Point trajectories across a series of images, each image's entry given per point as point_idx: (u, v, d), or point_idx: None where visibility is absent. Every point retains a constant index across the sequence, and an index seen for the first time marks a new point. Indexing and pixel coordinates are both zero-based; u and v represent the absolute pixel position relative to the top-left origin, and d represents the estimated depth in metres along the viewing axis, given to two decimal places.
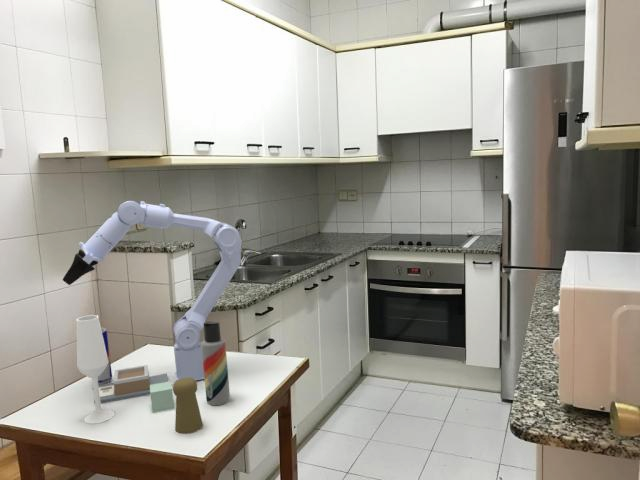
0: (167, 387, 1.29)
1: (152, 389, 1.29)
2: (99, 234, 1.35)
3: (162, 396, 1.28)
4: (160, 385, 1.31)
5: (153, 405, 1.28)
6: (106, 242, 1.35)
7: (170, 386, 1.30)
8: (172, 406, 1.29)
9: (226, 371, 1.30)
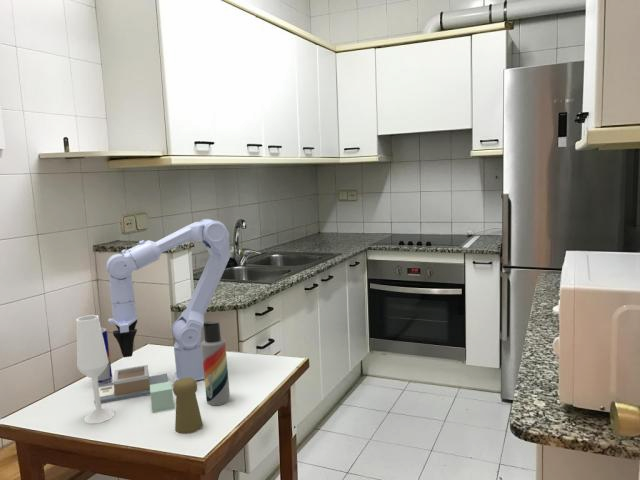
0: (167, 388, 1.29)
1: (152, 389, 1.29)
2: (114, 303, 1.36)
3: (162, 396, 1.28)
4: (160, 385, 1.31)
5: (153, 405, 1.28)
6: (125, 304, 1.36)
7: (170, 386, 1.30)
8: (172, 406, 1.29)
9: (226, 371, 1.30)
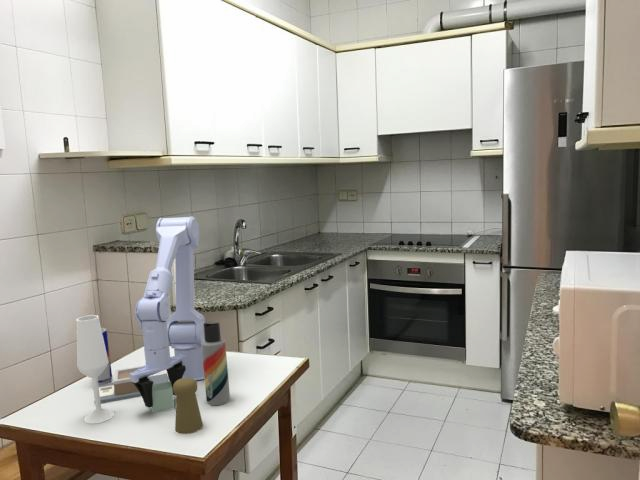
0: (167, 387, 1.29)
1: (152, 388, 1.29)
2: None
3: (162, 396, 1.28)
4: (160, 384, 1.31)
5: (153, 405, 1.28)
6: (148, 351, 1.26)
7: (170, 386, 1.30)
8: (172, 406, 1.29)
9: (226, 371, 1.30)
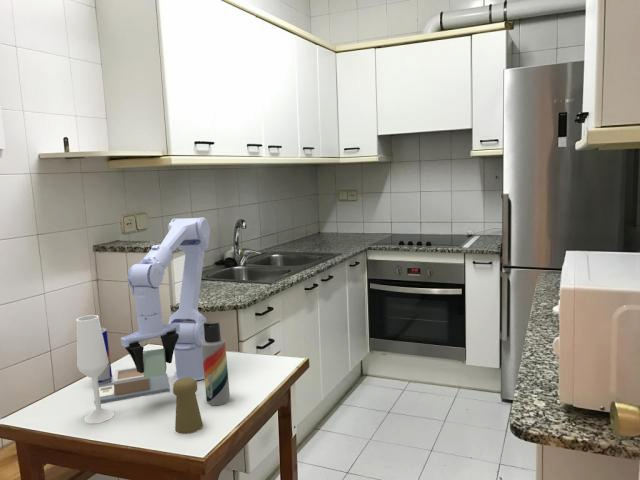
0: (159, 354, 1.30)
1: (144, 354, 1.30)
2: None
3: (154, 362, 1.29)
4: (153, 351, 1.32)
5: (145, 370, 1.28)
6: (139, 317, 1.27)
7: (162, 353, 1.30)
8: (164, 372, 1.29)
9: (226, 371, 1.30)
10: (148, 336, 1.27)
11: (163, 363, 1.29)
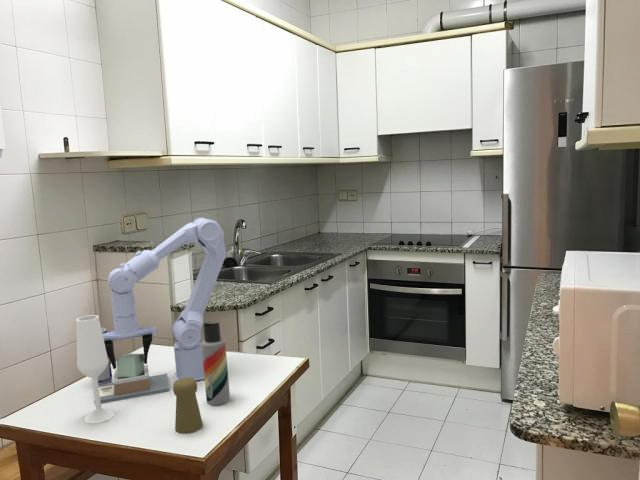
0: (132, 356, 1.40)
1: (122, 355, 1.41)
2: None
3: (126, 363, 1.39)
4: (132, 354, 1.42)
5: (118, 370, 1.39)
6: (113, 317, 1.38)
7: (136, 356, 1.40)
8: (134, 374, 1.38)
9: (226, 371, 1.30)
10: (117, 336, 1.37)
11: (134, 365, 1.39)
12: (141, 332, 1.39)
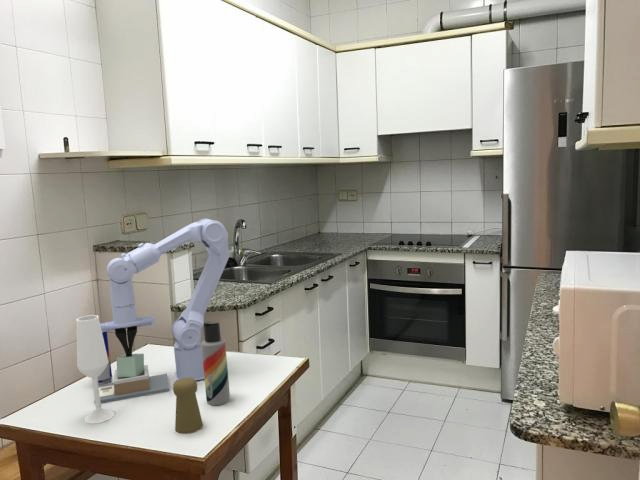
0: (132, 356, 1.40)
1: (122, 355, 1.41)
2: None
3: (126, 363, 1.39)
4: (132, 354, 1.42)
5: (118, 370, 1.39)
6: (112, 307, 1.37)
7: (136, 356, 1.40)
8: (134, 374, 1.38)
9: (226, 371, 1.30)
10: (116, 326, 1.37)
11: (134, 365, 1.39)
12: (140, 322, 1.39)
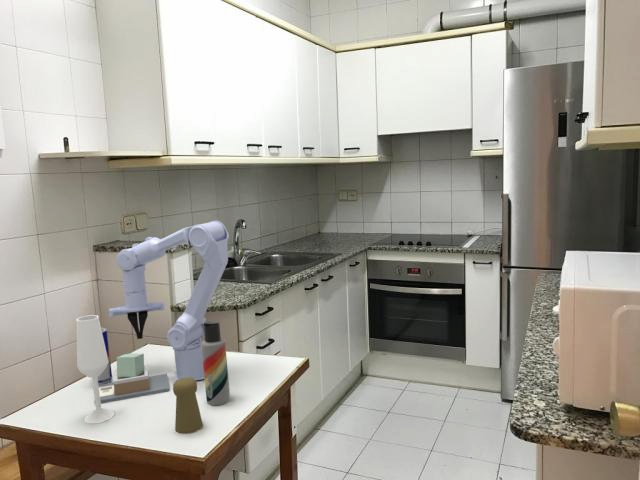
0: (132, 356, 1.40)
1: (122, 355, 1.41)
2: None
3: (126, 363, 1.39)
4: (132, 354, 1.42)
5: (118, 370, 1.39)
6: None
7: (136, 356, 1.40)
8: (134, 374, 1.38)
9: (226, 371, 1.30)
10: (129, 310, 1.48)
11: (134, 365, 1.39)
12: (150, 307, 1.50)
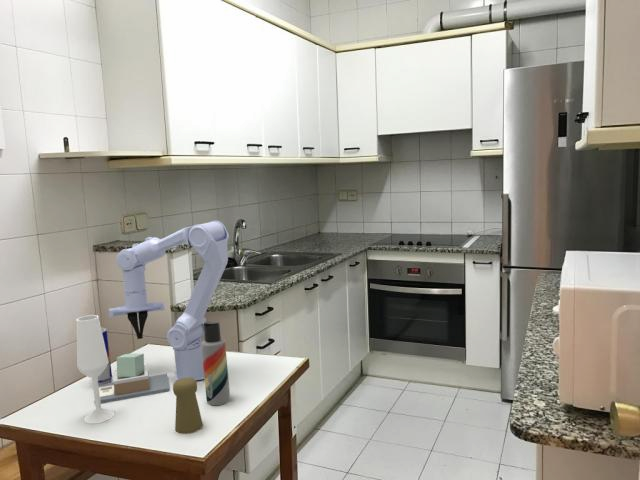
0: (132, 356, 1.40)
1: (122, 355, 1.41)
2: None
3: (126, 363, 1.39)
4: (132, 354, 1.42)
5: (118, 370, 1.39)
6: None
7: (136, 356, 1.40)
8: (134, 374, 1.38)
9: (226, 371, 1.30)
10: (129, 310, 1.48)
11: (134, 365, 1.39)
12: (150, 307, 1.50)
